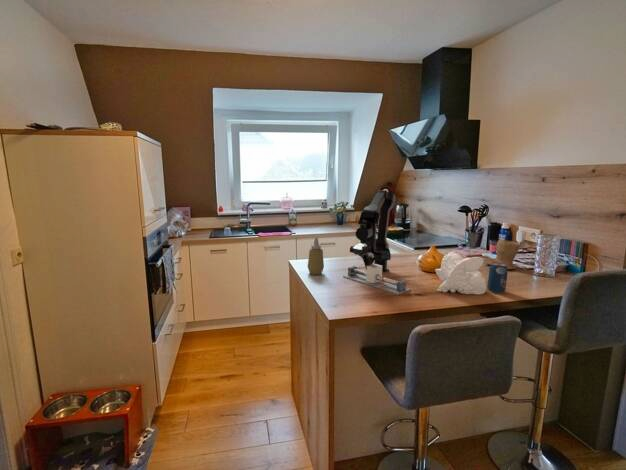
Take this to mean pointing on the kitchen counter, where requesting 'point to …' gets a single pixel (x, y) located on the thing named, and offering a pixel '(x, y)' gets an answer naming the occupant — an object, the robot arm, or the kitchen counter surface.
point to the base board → (377, 284)
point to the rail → (379, 278)
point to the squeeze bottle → (315, 258)
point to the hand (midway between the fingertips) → (367, 270)
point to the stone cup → (505, 253)
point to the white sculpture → (461, 274)
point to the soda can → (497, 277)
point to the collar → (373, 273)
